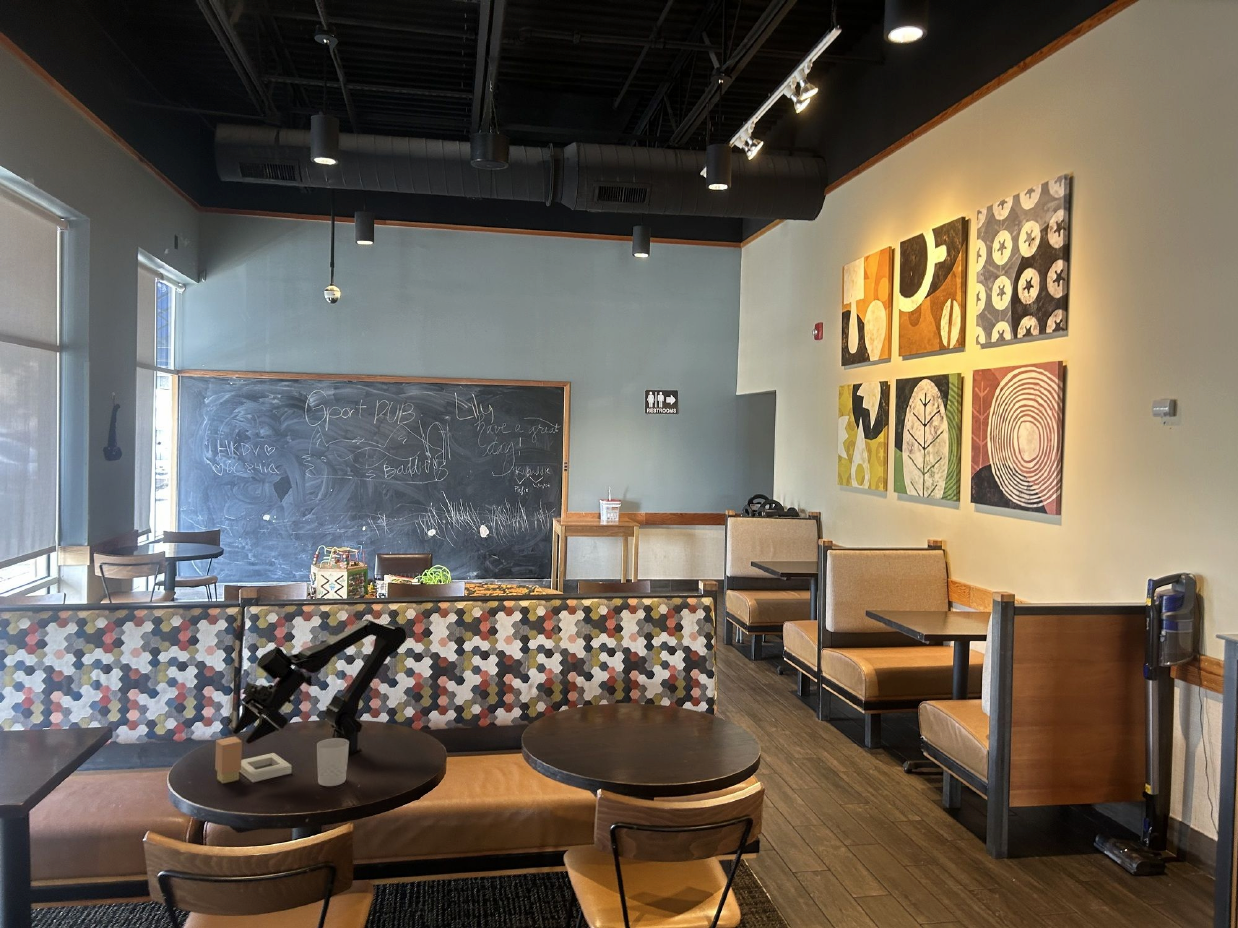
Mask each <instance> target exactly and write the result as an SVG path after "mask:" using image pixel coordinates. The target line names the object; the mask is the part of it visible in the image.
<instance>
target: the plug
mask: <svg viewBox="0 0 1238 928" xmlns="http://www.w3.org/2000/svg"><path fill="white" fill-rule="evenodd" d="M242 748H243V741H242V740H241V739H240V738H238V737H237V736H231V737H226V738H225V737H224V738H220V739H215V758H214V759H215V761H214V762H215V763H214V764H215V765H214V767H215V768H214V769H215V770H216V775H217V776H216V779H217V780H218V781H219V782H220V783H221V784H227V783H230V782H235V781H238V780H240V772H239V771H240V770H241V760H242V755H243V754H242V753H243V752H242V751H243V750H242Z"/></svg>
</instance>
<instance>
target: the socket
mask: <svg viewBox="0 0 1238 928" xmlns="http://www.w3.org/2000/svg"><path fill="white" fill-rule="evenodd" d="M239 773H241V774H242V775H243V776H245V778H247V779H248V780H249V781H251V782H252V783H256V782H259V781H264V780H268V779H272V778H276V777H280V776H285V775H289V774H292V764H291V763H289V762H287V761H286V760H284V759H283V758H281V757H280V756H279V755H278V754H276V753H275V752H272V753H267V754H263V755H258V756H253V757H249V758H248V757H247V758H243V759H241V770H240V771H239Z"/></svg>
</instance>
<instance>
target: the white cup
mask: <svg viewBox="0 0 1238 928" xmlns="http://www.w3.org/2000/svg"><path fill="white" fill-rule="evenodd" d="M348 749H349V741H348V740H346V739H342V738H333V737H331V738H326V739H325V738H324V739H322V740H320V741H319V742H317V744H316V760H317V761H316V765H317V783H318V785H320V786H324V787H335V786H339V785H341V784H343V783H345V782H346V780H347V779H346V778H347V771H348V770H347V769H348V761H349V759H348V758H349V756H348Z"/></svg>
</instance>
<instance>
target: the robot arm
mask: <svg viewBox="0 0 1238 928" xmlns="http://www.w3.org/2000/svg"><path fill="white" fill-rule="evenodd" d="M369 636H373V637H375V638H374V643H373V648H372V650H371V652H370V654H369V655H368V656H367V658H366V659H365V660H364V663H363V664H362V666H361V667H360V668H359V670H358V672H357V674H356V675H355V676H354V678H353V679H352V681H351V683H350V684H349V685H348V687H347V688H346V690H345V692H343V693H342V694H341V695H337V694H334V695H333V696H332V698H331V700H330V701H329V703H328V704H327V705H326V706H325V708H326V710H325V713H324V716H325V720H326V722H328V723H329V724H330V727H331V728H332V729H333V732H332V733H333V734H332V738H342V739H346V740H348V741H349V749H348V757H349V756H350V755H353V754H355V753H357V752H360V751H362V747H358V745H359V743H358V741H359V733H360V732H361V730H362V727H363V724H362V723H361V722H360V721H359V720H357V718H356V716H357V714H358V711H359V706H360V702H361V699H362V698H363V696H364V694H365V693H366V692H367V691H368V689H369V687H370V686H371V684H372V682H373V681H374V679H375V678H376V676H377V675H378V673H379V672H380V670H381V669H382V667H383V665H384V664H385V662H386V660H387V659H388V658H389V657H390V656H391V655H393V654H395V653H396V652H397V651H399V649H400V648H401V647H402V646H403V644H404V643H405V642H406V640H407V637H408V636H407V632H406V630H405V628H403V627H401V626H400V625H396V624H394V623H389V622H388V623H384V624H381V623H378V622H375V621H374V620H372V619H371V620H370V619H368V618H367V619H366V618H364V619H363V620H361V621H359V623H357V624H355V625H353V626H352V627H350V628H348V629H347V630H345V631H343V632H342V633H339V634H338V635H335V636H334V637H332V638H330V639H328V640H327V641H324V642H323V643H317V644H312V645H310V646H307V647H305V648H302V649H300V650H299V651H298V652H297V653H294V654H290V655H287V654H286V653H285V651H284V650H282V649H281V648H280V647H279V646H275V647H274V648H272V649H270V650H268V651H266V652H265V653H263V654H262V655H261V656H260V657H259V659H258V661H257V667H258V668H260V670H262V671H263V672H264V673H265V674H266V675H268V676H269V677H270V678H271V679H272V680H276V679H278V680H277V681H276V682H275V683H273V684H272V683H270V684H268V685H263V684H262V683H261V684H259V685H258V684H255V683H252V682H249V681H247V683H246V685H245V687H244V689H243V691H242V695H244V696H243V697H242V698H241V701H242V702H241V706H242V707H241V709H242V712H241V714H240V717H239V719H238V720H237V722H236V724H235V727H234V728H233V730H232V733H233V734H234V735H237V734H239V733H240V732H242V731H244V730H245V729H246V728H248V727H249V726H251V725H252V724H254V723H255V722H257V721H258V723H257V725H256V726H254V728H253V730H252V731H251V732H250V734H249V735H248V736H247V739H246V740H245V743H246V744H248V745H250V744H252V743H254V742H256V741H258V740H260V739H261V738H263V737H266V736H268V735H270V734H272V733H275V732H278V731H280V729H281V730H282V731H283V730H284V729H285V727H287V726H288V723H289V719H288V717H286V716H285V715H284V714H282V713H281V712H280V711H281V709H282V708H284V706H285V705H286V704H287V703H288V704H291V703H292V702H293V700H292V699H291V698H292V697H293V696H294V694H296V692H297V691H299V689H300V688H301V687H302V686H303V685H306V686H308V687H312V686H313V684H312V683H313V682H312V677H313V675H310V674H316V673H318V672H319V671H321V670H323V668H325V667H326V666H328V664H329V663H330V662H331V661H332V660H333V658H334V657H336V656H337V655H339V654H340V653H342V652H344V651H346V650H347V649H349V648H351V647H352V646H354V645H356V644H358V643H360V642H361V641H362V640H364V639H366V638H367V637H369ZM293 667H295V668H296V669H294V668H293ZM302 670H303V671H306V672H307V673H310V674H306V673H304V672H303V671H302Z"/></svg>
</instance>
